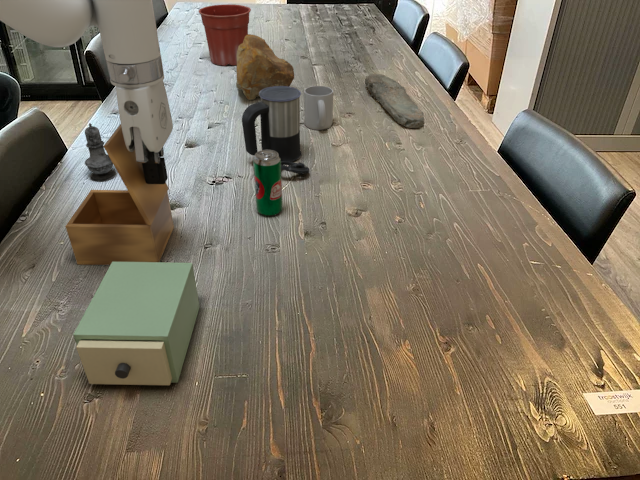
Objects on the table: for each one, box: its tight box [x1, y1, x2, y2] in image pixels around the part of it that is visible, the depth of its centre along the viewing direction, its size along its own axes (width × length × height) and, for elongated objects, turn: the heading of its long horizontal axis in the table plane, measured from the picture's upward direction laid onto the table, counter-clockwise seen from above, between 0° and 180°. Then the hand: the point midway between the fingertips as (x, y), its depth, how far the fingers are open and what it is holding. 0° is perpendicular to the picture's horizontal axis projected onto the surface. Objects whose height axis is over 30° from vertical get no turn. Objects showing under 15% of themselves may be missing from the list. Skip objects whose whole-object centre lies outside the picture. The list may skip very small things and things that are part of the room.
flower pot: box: [198, 3, 252, 67], centre depth 176 cm, size 16×16×16 cm
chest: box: [65, 189, 175, 266], centre depth 93 cm, size 14×12×8 cm
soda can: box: [252, 149, 284, 217], centre depth 102 cm, size 5×5×12 cm
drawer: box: [75, 339, 172, 386], centre depth 72 cm, size 15×10×7 cm
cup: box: [303, 85, 334, 131], centre depth 135 cm, size 7×10×9 cm
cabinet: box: [72, 261, 201, 384], centre depth 74 cm, size 15×12×9 cm
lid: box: [103, 123, 170, 226], centre depth 87 cm, size 14×12×1 cm
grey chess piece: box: [84, 122, 117, 183], centre depth 113 cm, size 6×6×12 cm
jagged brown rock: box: [235, 33, 295, 101], centre depth 153 cm, size 23×17×15 cm
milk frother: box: [241, 86, 310, 176], centre depth 117 cm, size 14×16×15 cm
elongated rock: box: [364, 73, 425, 129], centre depth 149 cm, size 35×5×10 cm
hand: (157, 181), depth 88 cm, fingers closed
